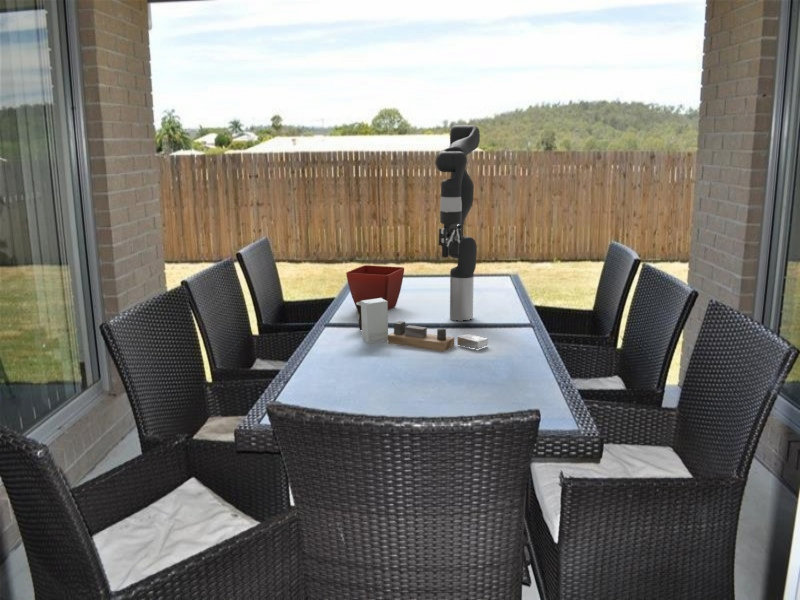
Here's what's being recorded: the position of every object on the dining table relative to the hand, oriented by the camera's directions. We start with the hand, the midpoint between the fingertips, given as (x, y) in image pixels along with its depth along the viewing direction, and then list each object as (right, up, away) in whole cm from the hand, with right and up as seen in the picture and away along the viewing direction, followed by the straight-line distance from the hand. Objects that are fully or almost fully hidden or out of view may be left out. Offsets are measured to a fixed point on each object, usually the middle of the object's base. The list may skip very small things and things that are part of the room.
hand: (450, 255), depth 264 cm
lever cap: (+7, -32, -5) cm, 33 cm away
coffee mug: (-30, -27, +20) cm, 45 cm away
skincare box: (-27, -30, +3) cm, 41 cm away
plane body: (-11, -31, -2) cm, 33 cm away
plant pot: (-28, -20, +52) cm, 62 cm away
